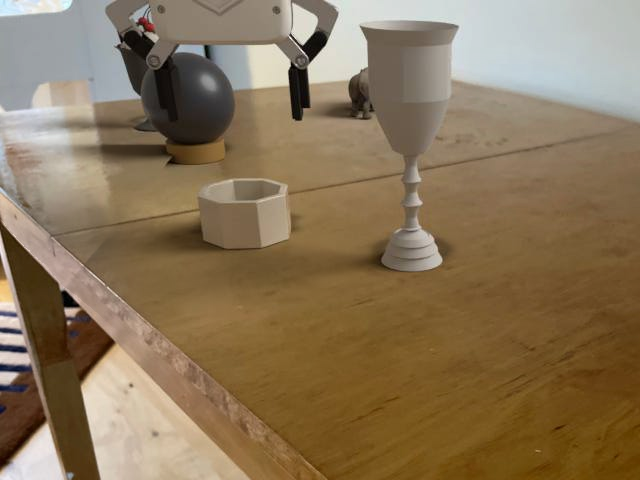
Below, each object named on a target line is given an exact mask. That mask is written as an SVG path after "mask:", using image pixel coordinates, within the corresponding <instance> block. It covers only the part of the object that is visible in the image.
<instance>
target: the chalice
mask: <svg viewBox="0 0 640 480" xmlns="http://www.w3.org/2000/svg"><path fill="white" fill-rule="evenodd" d="M358 26H359V28H360V30H361V32H362V35H363V36H364V39H365V40H366V50H367V52H366V53H367V67H368V82H369V97H370V100H371V103H372V106H373V108H374V110H373V112H374V115H375V117H376V119H377V122H378V124H379V126H380V128H381V130H382V132H383V135H384V136H385V138H386V140H387V142H388V145H389V146H390V147H391V150H392V151H393V152H395V153H397V154H399V155H402V156H403V160H404V170H403V176H402V177H401V179H400V181H401V183H402V185H403V187H404V190H405V193H404V197H403V199H402V200H401V201H400V203H399V204H400V205H401V206H402V207H403V210H404V214H405V220H404V225H402V226H401V228H399V229H397V230H395V231H394V232H393V233H392V235H391V236H390V237H389V239H388V243H387V245H386V246H385V251H384V254H382V257H381V263H382V264H383V266H385V267H387V268H389V269H392V270H395V271H399V272H400V271H401V272H423V271H424V272H425V271H429V270H432V269H435V268H437V267H439V266H441V264H442V263H443V257H442V255H441V254H440V252H439V247H438V246H437V244H436V242H435V237H434V236H433V235H432V234H431V232H429V231H428V230H426V229H424V228H422V226H421V225H420V224H419V219H418V214H419V210H420V207H421V206H422V205H423V201H422V200H421V199H420V197H419V193H418V189H419V185H420V183H421V182H422V178H421V177H420V175H419V170H418V161H419V156H420V155H423V154H424V153H426V152H428V151H430V149H431V147H432V145H433V142H434V140H435V139H436V136H437V135H438V133H439V130H440V128H441V126H442V124H443V122H444V119H445V116H446V112H447V110H448V106H449V104H450V102H451V97H452V54H453V53H452V51H453V49H452V48H453V47H452V43H453V41H454V39H455V37H456V35H457V33H458V30H459V29H460V26H459V25H458V24H455V23H449V22H442V21H431V20H404V19H403V20H402V19H400V20H397V19H395V20H391V19H390V20H371V21H364V22H360V23H359V24H358Z"/></svg>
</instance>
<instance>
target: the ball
mask: <svg viewBox="0 0 640 480" xmlns="http://www.w3.org/2000/svg"><path fill="white" fill-rule="evenodd" d="M172 59H173V64H176V66H177V67H178V69H179V75H180V81H181V88H182V94H183V100H184V107H185V115H184V116H183V117H182V118H181V119H180V120H178V121H177V122H169V118H168V112H167V109H163V110H162V109H161V108H160V104H159V99H158V93H157V87H156V82H155V76H154V70H153V69H152V68H149V69H148V71H147V72H146V74H145V76H144V79H143V82H142V86H141V96H140V101H141V106H142V109H143V111H144V114H145V116H146V118H148V120H149V121H150V123H151V124H152V126H153V127H154V128H155V129H156V130H157V131H156V132H158V133H159V134H160V135H162V136H163V137H164V138H166V140H165V141H164V143H165V148H166V152H167V154H170V155H172V156H171V157H170V159H169V160H168V161H169V162H171V163H174V164H180V165H204V164H211V163H216V162H220V161H222V160H224V159H225V158H226V156H227V155H226V148H225V139H224V138H223V136H222V135H224V134H225V132H226V131H227V130H228V129H229V128H230V126H231V123H232V121H233V119H234V116H235V111H236V97H235V91H234V89H233V86H232V83H231V81H230V79H229V78H228V76H227V74H226V73H225V72H224V71H223V69H222V68H221V67H220V66H218V64H216V63H215V62H213V61H212V60H210V59H209V58H207V57H205V56H203V55H201V54H197V53H195V52H187V51H178V52H177V51H176V52H175V53H174V55H173V56H172Z"/></svg>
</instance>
